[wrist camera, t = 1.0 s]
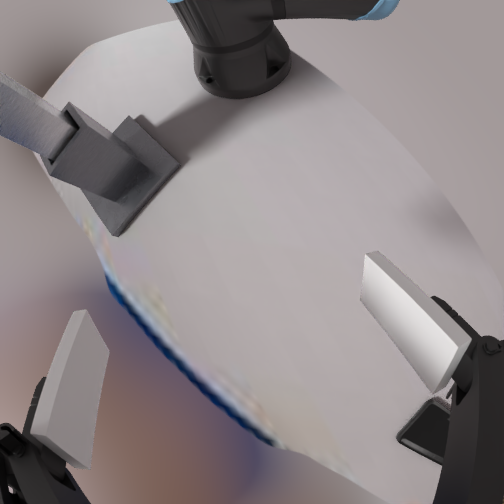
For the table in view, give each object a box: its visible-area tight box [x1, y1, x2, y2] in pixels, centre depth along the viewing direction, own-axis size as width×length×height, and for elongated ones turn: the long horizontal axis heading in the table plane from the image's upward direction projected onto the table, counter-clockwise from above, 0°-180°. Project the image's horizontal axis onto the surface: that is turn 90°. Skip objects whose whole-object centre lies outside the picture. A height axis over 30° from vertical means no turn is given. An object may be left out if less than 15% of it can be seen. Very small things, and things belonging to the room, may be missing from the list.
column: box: [0, 71, 80, 161], centre depth 24 cm, size 6×6×28 cm
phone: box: [396, 399, 451, 465], centre depth 28 cm, size 8×1×15 cm
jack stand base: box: [40, 102, 181, 237], centre depth 32 cm, size 14×14×16 cm
